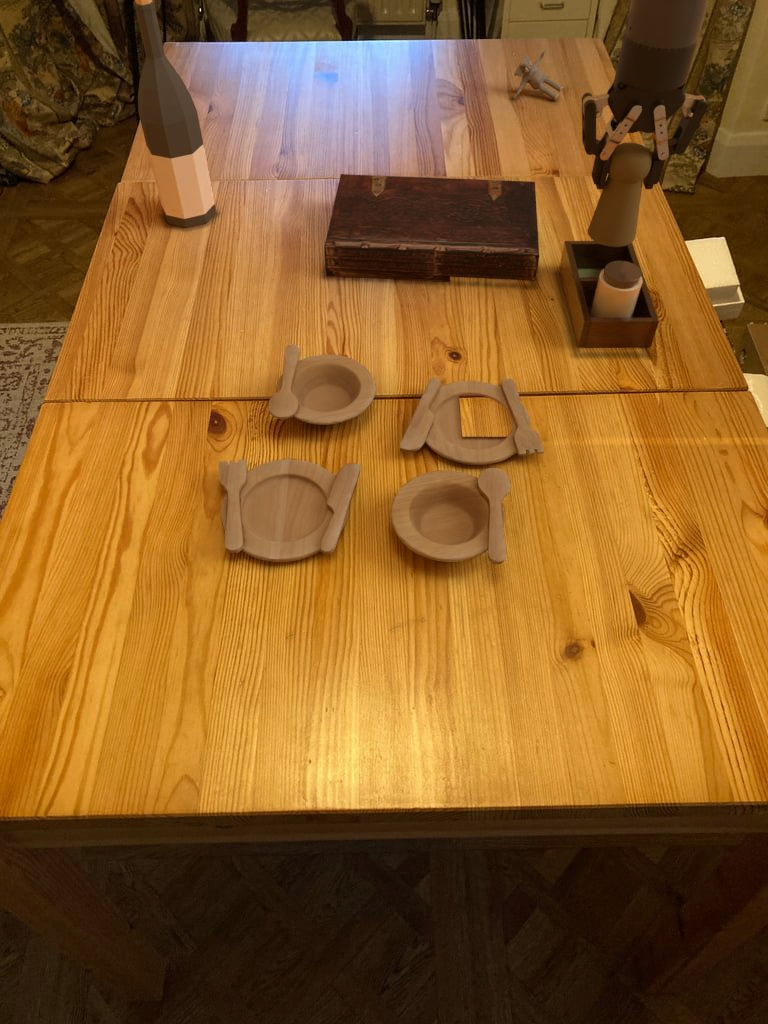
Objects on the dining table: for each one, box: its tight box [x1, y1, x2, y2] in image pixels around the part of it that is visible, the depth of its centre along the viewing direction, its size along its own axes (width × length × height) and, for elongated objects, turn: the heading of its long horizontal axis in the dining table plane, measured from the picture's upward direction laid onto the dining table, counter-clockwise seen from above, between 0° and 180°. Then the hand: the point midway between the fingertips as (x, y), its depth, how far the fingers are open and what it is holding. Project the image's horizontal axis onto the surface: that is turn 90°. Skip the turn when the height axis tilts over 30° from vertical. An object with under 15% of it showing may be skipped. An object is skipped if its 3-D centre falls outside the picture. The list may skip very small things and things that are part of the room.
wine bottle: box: [133, 0, 216, 229], centre depth 106 cm, size 8×8×30 cm
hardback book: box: [324, 173, 540, 282], centre depth 111 cm, size 29×19×5 cm, turn 85°
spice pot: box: [589, 261, 643, 318], centre depth 96 cm, size 5×5×8 cm
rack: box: [559, 240, 660, 349], centre depth 101 cm, size 9×17×5 cm, turn 0°
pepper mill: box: [587, 142, 652, 247], centre depth 94 cm, size 6×6×11 cm
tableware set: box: [218, 344, 545, 565], centre depth 84 cm, size 35×29×4 cm
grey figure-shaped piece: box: [512, 48, 564, 101], centre depth 141 cm, size 10×6×9 cm
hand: (623, 185), depth 93 cm, fingers closed on pepper mill, 5 cm apart
